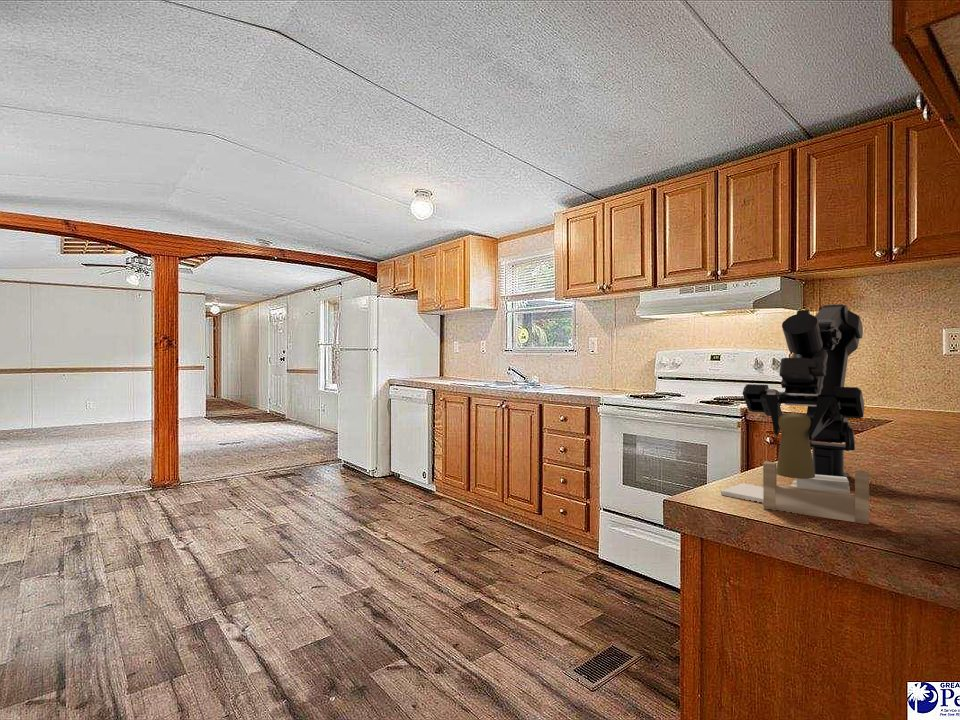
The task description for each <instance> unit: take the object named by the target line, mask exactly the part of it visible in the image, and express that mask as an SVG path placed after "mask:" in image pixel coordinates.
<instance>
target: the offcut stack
mask: <svg viewBox="0 0 960 720" xmlns="http://www.w3.org/2000/svg"><path fill="white" fill-rule="evenodd" d="M795 479H796V480H793V481H792V482H791V484H790V486H789V487H793V488H802V489H810V490H818V491H826V492H834V493H843V494H850V493H851V492H850V491H851V489H850V488H851V487H850V481H849V479H848V477H839V476H828V475H817V474H815V477H814V478H809V479H798V478H795Z"/></svg>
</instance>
